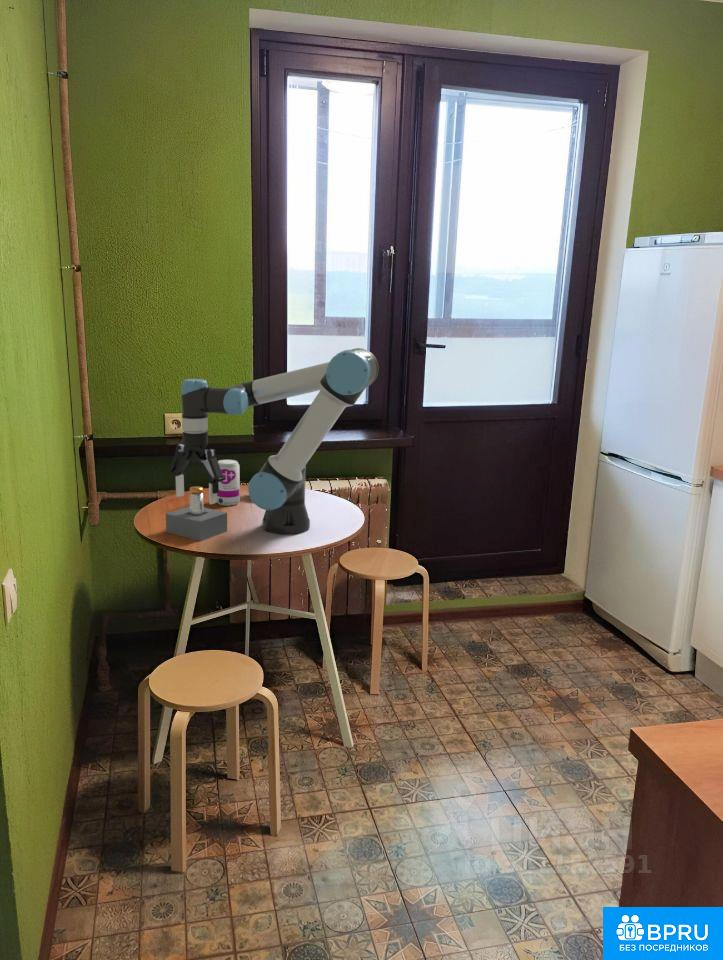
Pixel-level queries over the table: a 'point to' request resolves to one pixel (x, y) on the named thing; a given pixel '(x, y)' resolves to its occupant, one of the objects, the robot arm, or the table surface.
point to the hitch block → (196, 523)
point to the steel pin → (196, 501)
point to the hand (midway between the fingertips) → (196, 499)
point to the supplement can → (229, 483)
